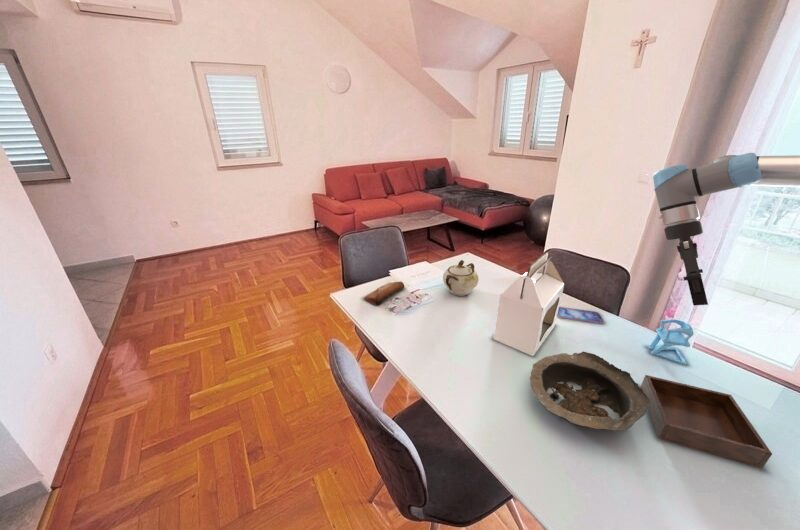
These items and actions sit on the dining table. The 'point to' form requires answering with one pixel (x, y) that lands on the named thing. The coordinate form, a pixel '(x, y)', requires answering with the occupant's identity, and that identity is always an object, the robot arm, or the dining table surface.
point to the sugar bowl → (460, 278)
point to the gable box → (529, 307)
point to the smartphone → (579, 315)
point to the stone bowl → (588, 390)
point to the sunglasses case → (384, 292)
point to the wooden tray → (703, 421)
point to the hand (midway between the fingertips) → (699, 300)
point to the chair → (672, 339)
